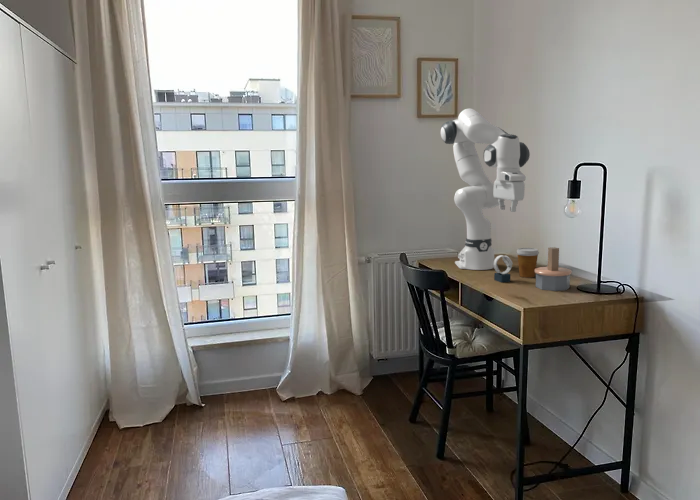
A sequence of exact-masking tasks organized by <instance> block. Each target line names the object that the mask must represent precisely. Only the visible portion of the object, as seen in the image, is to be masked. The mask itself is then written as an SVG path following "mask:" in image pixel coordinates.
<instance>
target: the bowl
mask: <svg viewBox="0 0 700 500" xmlns="http://www.w3.org/2000/svg"><path fill="white" fill-rule="evenodd" d="M570 283H571V274H570V275H567V276H545V275H540V274H536V273H535V288H537V289H540V290H542V291H552V292H557V291H568V290H569V289H570V286H571V284H570Z"/></svg>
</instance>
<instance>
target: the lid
mask: <svg viewBox="0 0 700 500" xmlns="http://www.w3.org/2000/svg"><path fill="white" fill-rule="evenodd" d="M559 262H560V248H559V247H556V246H553V247H550V246H549V247H548V248H547V266H540V267H536V269H535V275H536V274H540V275H545V276H567V275H570V276H571V275H572V272H573V270H572V269H570V268H567V267H560V265H559Z"/></svg>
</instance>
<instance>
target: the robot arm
mask: <svg viewBox="0 0 700 500" xmlns="http://www.w3.org/2000/svg"><path fill="white" fill-rule="evenodd" d="M440 137H441V139H442V141H443V143H445V144H446V145H453V146H452V150H453V156H454V162H455V166H456V169H457V172H458V175H459V177H460V179H461V180H462V181H463V182H464V183H466V184H468V186H464V187H461V188H459V189H457V190H456V191H455V192H454V193H455V194H454V197H453V201H454V204H455V206H456V207H457V208H458V209H459V210H460V211H461V213H462V214H463V216H464V219H465V225H466V238H465V241H464V245H465V246H464V247H463V248H462V249H461V250H460V252H459V253H458V254H457V258H458V259H459V260H455V261H454V264H455V265H456V266H457V267H458V269H461V270H463V269H464V270H474V271H475V270H476V271H481V270H482V271H484V270H487V271H488V270H492V269H494V266H493V265H494V260H495V250H494V249H493V247H492V242H493V240H492V237H491V235H492V233H491V232H492V231H491V229H492V228H491V227H492V226H491V224H492V223H491V221H490V220H489V219H488V218H487V217H485V216H484V213H483V209H484V210H485V209H492V208H496V207H499V210H501V211H502V210H503V211H504V210H506V205H505V200H507V201H510V203H511V205H510V207H509V211H510V212H512V213H515V212H517V206H518V204H519V201H520V202H521V201H523V200H524V198H525V188H526V187H525V185H526V183H525V181H526V174H524V173H522V171H521V168H522V167H524V166H525V165H526V163H528V161H529V159H530V155H531V153H530V149H529V148H528V146H527V144H525V143H524V142H521V141H520V138H519V136H518V135H516V134H513V133H512V134H510V133H508V132H506V131H505V130H504V129H502V128H500V127H499V126H497V125H496V124H493V123H491V122H490V121H489V120H487V118H485V117H484V116H483V115H482V114H481V113H480V112H479V111H477V110H475V109H474V108H471V107H470V108H465V109H462V111H461V112H459V114H458V117H457V118H456V119H454V120H448V121H446V122H444V123H443V124H442V125H441V127H440ZM475 144H484V145H485V144H486V145H487V144H488V145H487V146H486V147H485V149H484V150H483V161H484V163H485V165H487V166H488V167H489V168H496V179H495V180H494V182H492V180H490V178H489V177H488V175H487V174H486V173H485V171H484V168H483V166H482V164H481V163H482V162H481V161H480V157H479V154H478V151H477V149H476V145H475Z"/></svg>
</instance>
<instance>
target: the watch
mask: <svg viewBox="0 0 700 500" xmlns="http://www.w3.org/2000/svg"><path fill="white" fill-rule="evenodd" d="M494 259H495V260H494V265H493V266H494V268H493V269H494V270H495V272H494V275H493V276H494V277H493V278H494V281H495V282H499V283H502V284H503V283H508V282H511V274H510V273H509V272H511V269H512V268H513V260H512V259H511V258H510V257H509V256H508V255H506V254H505V255H503V254H500V255H497V256H496V257H494ZM500 259H502V261H503V263H504V264H505V266H506V268H505V270H504V271H501V270H500V268H499V266H498V261H499V260H500Z"/></svg>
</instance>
